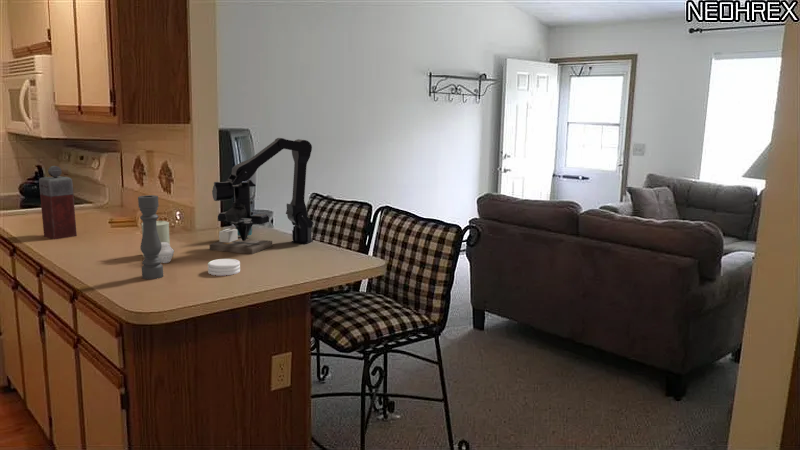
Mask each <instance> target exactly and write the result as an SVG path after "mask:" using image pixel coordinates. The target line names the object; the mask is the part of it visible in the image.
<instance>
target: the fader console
mask: <svg viewBox="0 0 800 450" xmlns="http://www.w3.org/2000/svg"><path fill="white" fill-rule="evenodd" d="M272 247H273V240H265V239H257V238H256V239H255V238H254V239H253V238H246V240H245V241H242V238H241V237H238V240H235V241H232V242H230V243H226V242H219V241H217V242H216V241H215V242H213V243H210V244H209V251H218V252H219V251H220V252H228V253H237V254H250V255H253V254H256V253H258V252H261V251H265V250H266V249H269V248H272Z"/></svg>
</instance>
